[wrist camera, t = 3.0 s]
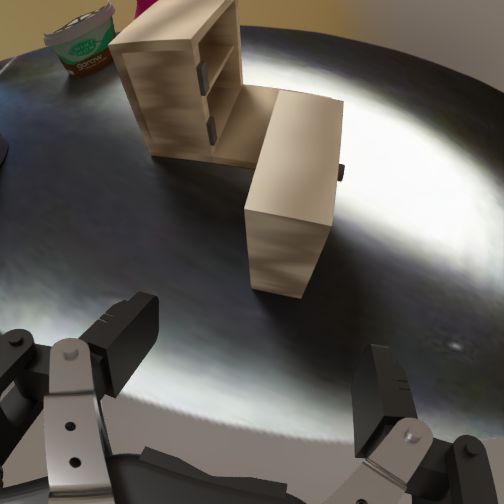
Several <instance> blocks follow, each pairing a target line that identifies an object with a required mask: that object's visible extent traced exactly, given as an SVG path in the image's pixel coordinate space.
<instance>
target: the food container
mask: <svg viewBox="0 0 504 504" xmlns="http://www.w3.org/2000/svg"><path fill="white" fill-rule="evenodd" d="M114 13H115V9H114V7H113V5H112V4H111V2H109V0H108V4H107V5H106V6H104V7H102V8H100V9H98V10H96V11H93V12H91V13H88V14H85V15H83V16H80V17H77V18H76V19H74V20H72V21H71V22H69V23H68V24H67V25H65V26H64V27H63V28H61V29H59V30H57V31H55V32H54V33H52V34H45V33H44V35H45V36H44V42H45V45H46V46H51V47H52V48H53V50H54V51H55V53H56V55H57V56H58V58H59V59H60V61H61V62H62V64H63V66H64V67H65V69H66V70H67V72H68V73H69V75H70V76H71V77H74V78H77V77H84V76H88V75H90V74H93V73H95V72H97V71H99V70H101V69H103V68H104V67H106V66H107V65H109V64H110V63H111V62H112V61H113V57H112V55H111V52H110V49H109V46H108V44H109V43H110V42H111V41H112V40H113V39H114V38H116V35H115V30H114V24H113V19H112V15H113V14H114Z"/></svg>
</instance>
